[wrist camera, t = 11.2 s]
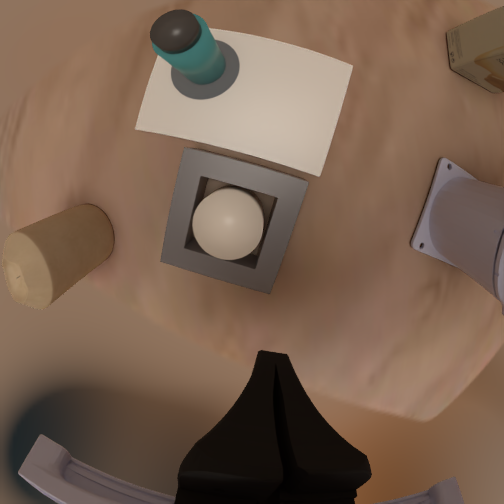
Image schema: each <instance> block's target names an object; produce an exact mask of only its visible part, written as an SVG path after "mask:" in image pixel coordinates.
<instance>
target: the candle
mask: <svg viewBox="0 0 504 504" xmlns="http://www.w3.org/2000/svg"><path fill="white" fill-rule="evenodd" d="M113 245H114V233H113V228H112V225H111V223H110V221H109V219H108V217H107V216H106V215H105V213H104V212H103V211H102V210H101V209H99V208H98V207H96V206H94V205H90V204H83V205H79V206H76V207H73V208H70V209H68V210H65V211H62V212H60V213H57V214H55V215H52V216H50V217H47V218H45V219H43V220H40V221H38V222H36V223H33V224H31V225H29V226H26V227H24V228H22V229H20V230H17V231H15V232H13V233H11V234H10V235H9V236H8V238H7V239H6V242H5V245H4V249H3V256H2V267H3V270H4V274H5V278H6V284H7V287H8V289H9V291H10V293H11V295H12V297H13V299H14V301H15V302H17V303H21V304H24V305H27V306H30V307H32V308H35V309H45V308H47V307H48V306H49V305H50V304H52V303H53V302H54V301H55V300H56V299H58V298H59V297H60V296H61V295H62V294H64V293H65V292H66V291H67V290H68V289H70V288H71V287H72V286H73V285H74V284H76V283H77V282H78V281H79V280H81V279H82V278H83V277H85V276H86V275H87V274H88V273H90V272H91V271H92V270H93V269H95V268H96V267H97V266H99V265H100V264H101V263H102V262H104V261H105V260H106V259H107V258H108V257H109V255H110V254H111V252H112V249H113Z"/></svg>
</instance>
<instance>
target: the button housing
mask: <svg viewBox="0 0 504 504" xmlns="http://www.w3.org/2000/svg"><path fill="white" fill-rule="evenodd" d="M208 178H211V179H215V180H219V181H222V182H226V183H230V184H233V185H237V186H240V187H244V188H247V189H251V190H254V191H257V192H261V193H264V194H267V195H271V196H274V197H275V200H274V203H273V207H272V210H271V213H270V216H269V219H268V222H267V226H266V229H265V232H264V235H263V238H262V241H261V244H260V248H259V251H258V254H257V255H253V254H250V253H249V254H248V255H246V256H244V257H242V258H239V259H234V260H224V259H219V258H216V257H214V256H212V255H210V254H208V253H207V252H206V251H204V250H203V249H202V248H201V246H200V245H199V244H198V242H197V240H196V238H195V237H194V232H193V226H192V224H193V216H194V213H195V210H196V208H197V207H198V205H199V204H200V203H201V201H202V200H203V196H204V192H205V188H206V184H207V180H208ZM308 184H309V182H308V181H306V180H305V179H303V178H300V177H297V176H294V175H291V174H287V173H284V172H281V171H278V170H275V169H271V168H268V167H265V166H261V165H258V164H254V163H251V162H247V161H244V160H240V159H237V158H233V157H229V156H225V155H221V154H218V153H214V152H210V151H205V150H201V149H197V148H186V147H184V151H183V155H182V159H181V163H180V167H179V171H178V175H177V179H176V184H175V188H174V193H173V197H172V202H171V207H170V211H169V216H168V221H167V227H166V232H165V237H164V243H163V249H162V255H161V261H160V262H163V263H166V264H170V265H173V266H176V267H179V268H182V269H186V270H189V271H192V272H195V273H199V274H202V275H205V276H208V277H212V278H215V279H218V280H222V281H225V282H229V283H232V284H235V285H239V286H242V287H246V288H249V289H253V290H256V291H260V292H264V293H267V294H270V293H271V290H272V287H273V284H274V282H275V279H276V276H277V273H278V271H279V268H280V265H281V262H282V259H283V257H284V254H285V251H286V248H287V245H288V242H289V240H290V237H291V234H292V231H293V228H294V225H295V222H296V219H297V216H298V213H299V210H300V208H301V205H302V202H303V199H304V196H305V193H306V190H307V187H308Z"/></svg>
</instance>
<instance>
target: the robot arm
mask: <svg viewBox="0 0 504 504" xmlns="http://www.w3.org/2000/svg"><path fill="white" fill-rule="evenodd" d="M448 164H449V169H448V168H447V165H448ZM421 243H422V246H421V247H419V246H420V244H421ZM411 247H412V248H414V249H415V250H417V251H420V252H422V253H425V254H427V255H429V256H432V257H434V258H436V259H439V260H441V261H444V262H446V263H448V264H450V265H453V266H455V267H457V268H460V269H461V270H462V271H463V272H465V273H466V274H467V275H469V276H470V277H471V278H472V279H474V280H475V281H476V282H477V283H479V284H480V285H481V286H482V287H484V288H485V289H486V290H487V291H488V292H490V293H491V294H492V295H493V296H494V297H496V298H497V299H498V300H499V301H500V302H501V304H502V314H503V315H504V187H501V186H497V185H493V184H490V183H486V182H482V181H479V180H477V179H476V178H475V177H473V176H472V175H470V174H469V173H468V172H466V171H465V170H463V169H462V168H460V167H459V166H457V165H456V164H454V163H453V162H451V161H450V160H448V159H447V158H441V159H440V160H439V163H438V166H437V170H436V173H435V176H434V180H433V183H432V186H431V189H430V192H429V195H428V198H427V201H426V204H425V207H424V209H423V212H422V215H421V218H420V220H419V223H418V225H417V228H416V231H415V233H414V236H413V238H412V240H411ZM18 473H19V475H20V476H22V477H23V478H24V479H25V480H26V481H27V482H29V483H30V484H31V485H32V486H34V487H35V488H36V489H37V490H39V491H40V492H41V493H43V494H44V495H46V496H47V497H49V498H51V499H52V500H54V501H55V502H57V503H59V504H355V501H354V498H356V497H357V492H356V489H358V488H359V487H360V486H362V485H363V484H364V483H366V482H367V481H368V480H369V479H370V478H371V475H372V473H371V469H370V464H369V461H368V459H367V456H366V455H365V454H363V453H362V452H360V451H359V450H358V449H356V448H354V447H353V446H352V445H351V444H349V443H348V442H347V441H346V440H345V439H344V438H342V437H341V436H340V435H339V434H338V433H337V432H336V431H335V430H334V429H333V428H332V427H331V426H330V425H329V424H328V423H327V421H326V420H325V419H324V418H323V417H322V415H321V414H320V413H319V412H318V410H317V409H316V407H315V406H314V405H313V403H312V402H311V400H310V398H309V397H308V395H307V394H306V392H305V390H304V388H303V387H302V385H301V383H300V381H299V379H298V377H297V375H296V373H295V371H294V369H293V366H292V364H291V362H290V359H289V357H288V355H287V354H282V353H276V352H269V351H263V350H260V351H258V354H257V358H256V361H255V365H254V368H253V372H252V375H251V378H250V380H249V382H248V383H247V385H246V387H245V389H244V390H243V392H242V394H241V395H240V397H239V398H238V400H237V401H236V402H235V404H234V405H233V407H232V408H231V409H230V410H229V411H228V413H227V414H226V415H225V416H224V417H223V418H222V420H221V421H219V423H218V424H217V425H216V426H215V427H214V428H213V429H212V430H211V431H209V432H208V433H207V434H206V435H205V436H204V437H202V438H201V439H200V440H199V441H197V442H196V443H195V445H194V446H193V447H192V449H191V450H190V451H189V453H188V454H187V455H186V457H185V458H184V460H183V461H182V463H181V465H180V468H179V473H178V490H177V494H176V497H173V496H169V495H166V494H162V493H159V492H155V491H152V490H149V489H146V488H142V487H140V486H137V485H134V484H131V483H128V482H126V481H123V480H121V479H118V478H116V477H113V476H111V475H108V474H106V473H104V472H101V471H99V470H97V469H95V468H93V467H91V466H88V465H86V464H84V463H82V462H80V461H78V460H76V459H75V458H73V457H71V456H70V454H69V452H68V451H67V450H66V449H65V448H63V447H62V446H60V445H59V444H57V443H55V442H54V441H52V440H50V439H49V438H47V437H45V436H44V435H40V436H39V437H38V439H37V441H36V442H35V444H34V446H33V447H32V449H31V451H30V452H29V454H28V456H27V457H26V459H25V461H24V463H23V464H22V466H21V468H20V470H19V471H18ZM375 504H464V501H463V498H462V495H461V492H460V489H459V486H458V483H457V480H456V478H455V477H452V478H449V479H446V480H444V481H442V482H439V483H437V484H435V485H434V486H432V487H431V488H430V489H429V490H426V491H423V492H420V493H416V494H413V495H409V496H406V497H402V498H398V499H394V500H389V501H385V502H380V503H375Z"/></svg>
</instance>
